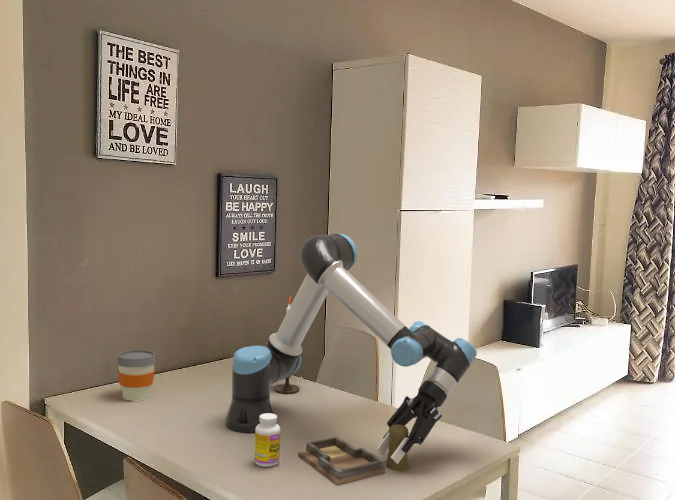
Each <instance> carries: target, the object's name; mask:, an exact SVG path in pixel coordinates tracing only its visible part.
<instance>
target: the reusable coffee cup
mask: <svg viewBox="0 0 675 500" xmlns="http://www.w3.org/2000/svg"><path fill="white" fill-rule="evenodd" d="M116 362H117V363H116V364H117V365H118V372H117V375H118V380H119V381H118V382H119V385H120V386H121V395H122V400H124V399H125V400H124V401H126V400H131V401H130V402H135V401H134V400H142V399H146V398H148V397H149V396H150V397H151V390H152V384H153V383H154V380H155V371H156V369H155V364H156V362H157V361H156V354H155V352H154V351H151V350H145V349H138V350H137V349H135V350H126V351H123V352H119V354H118V355H117V361H116ZM148 399H149V398H148ZM146 400H147V399H146Z"/></svg>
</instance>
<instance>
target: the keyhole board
mask: <svg viewBox="0 0 675 500" xmlns="http://www.w3.org/2000/svg"><path fill="white" fill-rule="evenodd" d="M305 448H306V449H304V450H300V451H298V454H297V455H298V457H299V458H301V460H303V461H304V462H305V463H307V464H308V465H309V466H311V467H312V468H314V469H315V470H316V471H318V472H319V473H321V474H322V475H323V476H324V477H326V478H327V479H328V480H330V481H331V482H332V483H334V484H335V485H336V486H338V485H342V484H346V483H350V482H354V481H358V480H362V479H366V478H370V477H373V476H377V475H381V474H385V473H386V467H385V461H384V460H383V459H382V458H380V457H379V456H376V455H375V454H374V453H372V452H370V451H369V450H367V449H366V448H363V447H360V448H355V446H353V445H350V444H349V443H348V442H346V441H344V440H343V439H341V438H340V437H338V436H334V437H328V438H324V439H318V440H313V441H309V442H306V447H305Z"/></svg>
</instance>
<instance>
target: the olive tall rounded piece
mask: <svg viewBox="0 0 675 500" xmlns="http://www.w3.org/2000/svg"><path fill="white" fill-rule="evenodd" d="M388 430H389V435H390V437H391V440H390V446H389V448H388V450H387V451H388V452H387V459H386V464H385V466H386V468H388V469H390V470H393V471H398V472H399V471H405V470H408V469H409V457H408V453H405V455H404V456H403V458H402V459H401V460H400V462H399V463H398V464H397V463H396V462H395V461H394V460H393V459H392V458H391V456H392V455H393V453H394V452H395V451H396V449H397V448H398V446H399V445H400V444H401V442H402V441H403V440H404V438H405V437H406V438H407V436H409V434H410V432H409V429H408V427H407V426H406V425H405V426H404V425H399V424H397V425H393V426H391V427H390V429H389V428H388ZM407 439H408V438H407Z"/></svg>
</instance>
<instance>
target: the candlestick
mask: <svg viewBox="0 0 675 500" xmlns="http://www.w3.org/2000/svg"><path fill="white" fill-rule="evenodd" d="M291 302H292V297H291V295H290V296H288V302H287V303H288V306H287V307H286V313H287V312H288V310H289V308H290V306H291ZM302 356H304V351H303V350H302V353H301V355H300V357H301V358H302ZM290 378H292V375H291V376H290V377H288V378H286V379H284V380H285V382H284V383H283V384H277V385H276V386H274V392H275V393H277V394H280V395H294V394H297V393H299V392H300V386H299V385H296V384H292V383H290Z"/></svg>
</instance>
